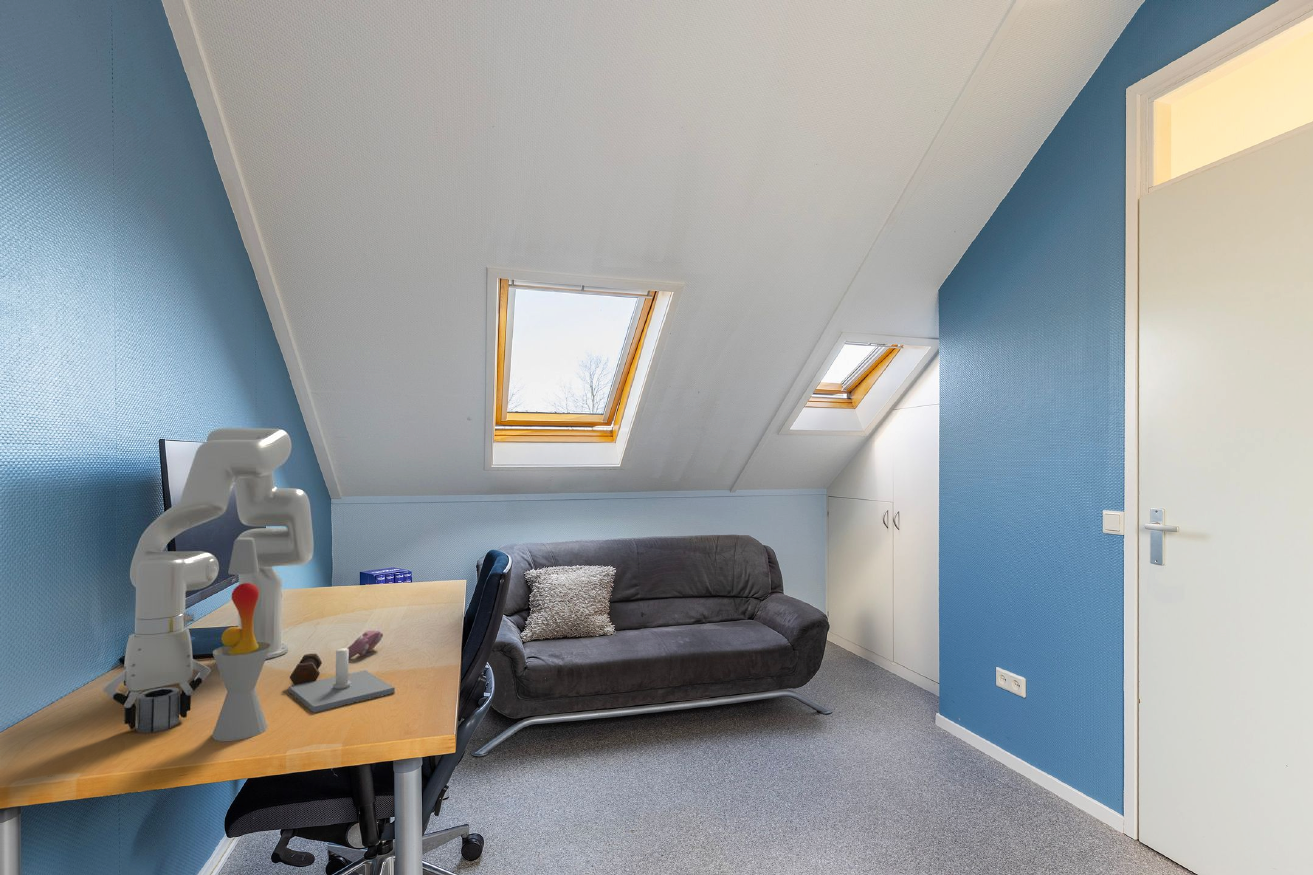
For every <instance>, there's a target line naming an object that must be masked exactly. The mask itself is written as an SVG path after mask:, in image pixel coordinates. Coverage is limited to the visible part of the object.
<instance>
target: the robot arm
mask: <svg viewBox="0 0 1313 875" xmlns="http://www.w3.org/2000/svg"><path fill="white" fill-rule="evenodd" d="M291 451H292V440H291V437H290V436H289V434H288V433H287V432H286V431H285V430H284V429H281V428H259V427H258V428H257V427H256V428H255V427H253V428H252V427H224V428H223V427H222V428H217V429H214V430H212V431H210V432H209V433H208V435H207V437H206V441H205V442H203V443H201V444H200V446H198V448H197V449H196V451H195V454H194V457H193V459H192V462H191V466H190V469H189V472H188V475H187V478H186V481H185V484H184V487H183V490H182V493H181V497H180V499H179V501H178V502H177V503H176V504H174V505H172V506H171V507H170V508H168V509H167V510H166V511H164V512H163V513H162V514H161V515H159V516H157V518H156V519H155V520H154V521H152V522H151V523H150V524H149V526H148V527H147V528H146V529H145V530H144V531H143V533H142V534H141V537H140V538H139V541H138V543H137V546H136V548H135V551H134V554H133V557H132V560H131V563H130V569H129V578H130V579H129V580H130V582H131V584H132V585H133V586H134V587H135V618H134V633H131V634H129V636H128V640H127V643H126V649H125V656H124V665H123V670H122V671H121V672H120V673H118V674H117V675H116V676H115V677H113V678H112V679H111V680H110V681H108V682H107V683H106V684H105V685H104V686H103V687H102V690H103V692H104V693H105V694H106V695H107V696H109V698H111V699H113V700H114V701H115V702H117V703H119V704H120V705H122V706H123V707H124V715H123V718H124V720H123V722H124V725H128V727H129V730H135V729H136V711H137V705H136V704H135V701H137V696H138V695H139V694H141V692H146V691H149V690H154V689H159V688H165V687H171V686H175V685H179V687H180V688H181V689H182V690H181V691H180V709H179V716H181V717H180V718H183V719H184V718H187V716H188V712H189V711H191V709H192V708H191V705H192V704H191V703H192V702H191V701H192V699H191V698H192V695H193V693H194V691H196V689H198V688H199V687H200V685H201V684H202V683H203V681H204V680H205V679H206V678H207V676H208V675H209V674H210V673H211V670H212V669H211V668H210V667H209V666H207V665H205V664H202V663H201V662H200V661H198V660H196V659H194V658H193V646H192V637H191V634H190V629H189V627H188V626H187V624H189V623H190V622H194V621H195V614H193V613H192V614H189V613H186V596H187V595H186V592H188V591H196V590H202V589H204V588H207V587H208V586H210V585H211V584H212V583H213V582H214V581H215V580H216V579H217V577H218V575H219V570H220V564H219V561H218V559H217V558H216V557H215V555H214V554H212V553H210V552H207V551H201V550H194V551H192V550H191V551H189V550H187V551H186V550H185V551H184V550H183V551H182V550H180V551H175V550H174V551H169V550H168V551H164V550H165V548H166V546H167V545H168V544H169V543H170V542H171V540H173V539H174V538H175V537H176V536H178V535H180V534H181V533H183V532H184V531H187V530H189V529H192V528H193V527H196V526H199V525H201V524H203V523H206V522H208V521H211V520H214V519H217V518H219V517H221V516H223V515H224V513H225V512H226V511H227V509H228V506H229V502H230V498H231V495H232V492H233V489H234V493H235V495H234V496H235V501H236V502H235V503H236V509H237V515H238V516H237V517H238V518H239V521H240V523H242V524H243V525H245V526H249V527H258V528H252V529H251V528H250V529H248V530H246V531H243V532H242V533H241V534H239V536H238V537H237V538H236V539H238V538H253V539H254V542H255V548H256V555H257V561H258V568H259V572H256V573H251V574H238V585H240V584H243V583H251V584H253V585H255V586H256V587H257V588H258V591H259V597H258V600H257V603H256V606H255V610H254V615H253V631H254V636H255V639H256V642H265V643H269V644H270V649H269V652H268V654H267V657H266V660H268V659H272V658H277V657H279V656H282V655H285V654H286V653H287V652H288V650H289V646H288V645H287V644H285V643H282V615H283V581H282V579H281V576H280V575H279V573H278V572H277V571H276V570H275V568H274V567H293V566H294V567H296V566H302V565H306V564H308V563H309V562H310V561H311V560H312V558H313V555H314V547H315V546H314V543H315V542H314V531H313V523H312V522H313V521H312V513H311V511H312V510H311V503H310V500H309V496H308V495H307V493H306V492H305V491H304V490H302V489H299V488H296V487H295V488H294V487H293V488H292V487H288V488H285V487H283V488H281V487H280V488H279V487H277V486H276V485H275V479H274V472H275V471H276V470H277V469H278V468H280V467H281V466H283V465H284V464H285V463H286V461H287V460H288V458H289V457H290V455H291ZM259 527H260V528H259ZM261 527H262V528H261ZM263 527H264V528H263ZM265 527H266V528H265ZM270 527H271V528H270ZM279 527H280V528H279ZM281 527H282V528H281ZM283 527H284V528H283ZM237 615H238V617H237V618H238V619H237V627H239V628H241V629H242V626H241V618H240V615H239V613H238V614H237ZM194 670H195V671H198V673H197V675H196V676H195V677H194V678H193V674H194ZM192 678H193V679H192ZM190 680H191V681H190ZM189 681H190V682H189ZM122 683H123V686H124V687H126V690H127V691H126V693H125V694H124V693H123V692H120V691H119V690H117V687H119V685H121V684H122Z"/></svg>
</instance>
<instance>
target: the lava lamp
mask: <svg viewBox="0 0 1313 875" xmlns="http://www.w3.org/2000/svg"><path fill="white" fill-rule="evenodd" d="M237 538H238V537H237ZM237 538H236V539H235V540H234V542H233V546H232V552H231V557H230V562H229V567H228V572H227V573H228V574H229V575H235V576H236V575H239V574H251V573H256V572H259V568H258V561H257V555H256V548H255V542H254V539H253V538H238V539H237ZM258 597H259V591H258V588H257V587H256V586H255V585H253V584H251V583H243V584H240V585H239V584H238V585H237V586H236V587H235V588H234V589H233V590H232V592H231V601H232V602H233V605H234V607H235V608H236V610H237V612H238V613H239V615H240V618H241V626H242V629H241V628H239V627H238V626H231V627H230V626H229V627H228V628H226V629H225V630H224V631H223V632H222V634H221V642H222V643H223V646H220V647H217V648H215V649H214V650H213V651H212V656H213V658H214V661H215V663H216V666H217V669H218V671H219V674H220V677H221V678H222V682H223V685H224V686H225V689H226V695H225V697H224V701H223V704H222V706H221V708H220V712H219V715H218V718H217V720H216V723H215V726H214V728H213V732H212V735H211V738H212V739H213V738H214V739H213V740H214V741H218V742H234V741H235V742H236V741H240V740H241V741H242V740H245V739H250V738H252V737H255V736H258V735H260V734H262V733H263V732H265V731H266V730H267V729H268V727H269V726H268V724H267V720H266V716H265V715H264V711H263V708H262V705H261V702H260V699H259V696H258V693H257V690H256V685H257V683H258V680H259V677H260V675H261V673H262V670H263V668H264V664H265V662H266V660H267V659H266V657H267V654H268V652H269V649H270V644H269V643H265V642H256V639H255V636H254V631H253V615H254V610H255V606H256V603H257V600H258Z"/></svg>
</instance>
